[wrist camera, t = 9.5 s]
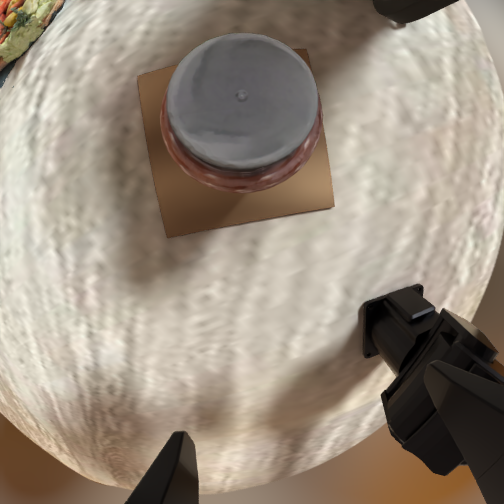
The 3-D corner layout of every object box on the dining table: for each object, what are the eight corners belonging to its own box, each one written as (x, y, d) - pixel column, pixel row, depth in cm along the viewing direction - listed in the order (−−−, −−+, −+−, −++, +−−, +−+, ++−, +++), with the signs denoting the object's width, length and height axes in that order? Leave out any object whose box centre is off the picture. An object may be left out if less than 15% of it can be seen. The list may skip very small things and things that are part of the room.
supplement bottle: (292, 171, 18) (369, 194, 7) (204, 187, 18) (154, 233, 7) (277, 86, 16) (328, 1, 5) (187, 102, 16) (119, 36, 5)
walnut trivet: (328, 204, 20) (334, 206, 19) (170, 234, 20) (167, 238, 18) (301, 54, 16) (306, 48, 15) (142, 80, 16) (137, 76, 15)
